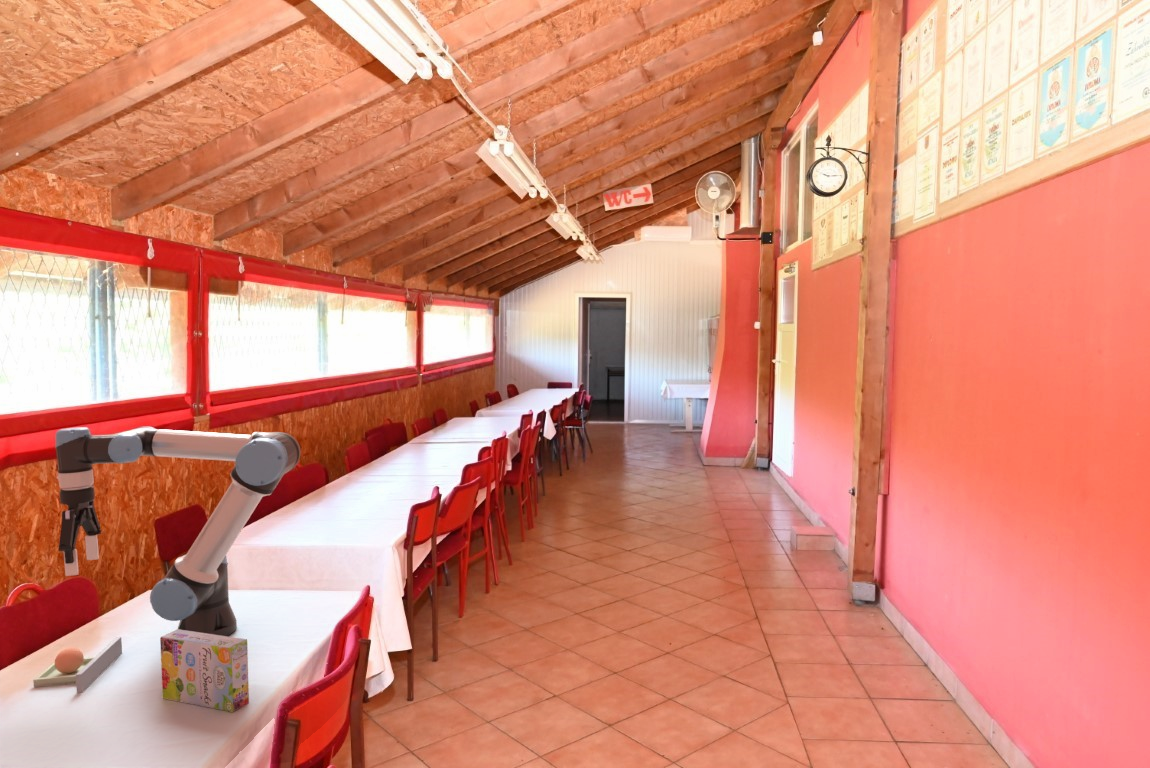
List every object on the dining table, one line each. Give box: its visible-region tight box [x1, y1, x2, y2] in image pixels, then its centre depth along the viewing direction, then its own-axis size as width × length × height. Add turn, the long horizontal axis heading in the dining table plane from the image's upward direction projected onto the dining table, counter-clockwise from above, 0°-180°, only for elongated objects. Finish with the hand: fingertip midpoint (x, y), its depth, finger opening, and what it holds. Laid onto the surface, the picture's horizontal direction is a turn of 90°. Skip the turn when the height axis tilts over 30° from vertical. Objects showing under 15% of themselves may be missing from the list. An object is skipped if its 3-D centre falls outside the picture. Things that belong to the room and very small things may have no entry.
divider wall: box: [75, 636, 123, 694], centre depth 185 cm, size 1×22×4 cm, turn 10°
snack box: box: [159, 628, 250, 713], centre depth 170 cm, size 21×6×15 cm, turn 71°
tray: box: [33, 656, 95, 688], centre depth 184 cm, size 11×11×2 cm
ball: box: [54, 647, 85, 673], centre depth 184 cm, size 6×6×6 cm
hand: (82, 567), depth 193 cm, fingers open, 13 cm apart
